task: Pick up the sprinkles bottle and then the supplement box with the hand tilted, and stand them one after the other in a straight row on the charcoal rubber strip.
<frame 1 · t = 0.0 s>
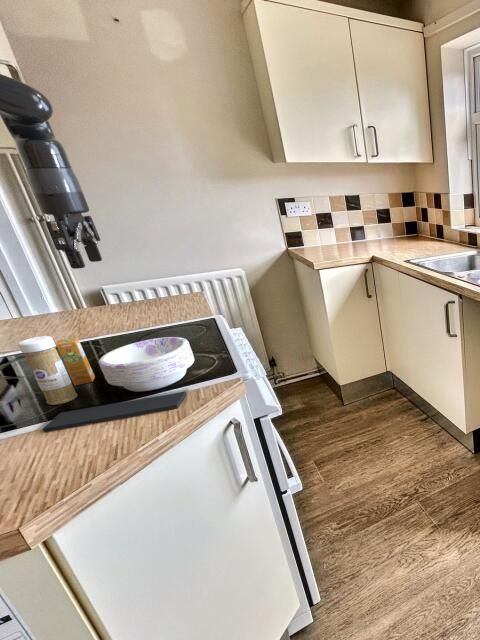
hand: (88, 264, 98), 24 cm above the worktop, tool pointing down, fingers open, 8 cm apart
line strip: (120, 412, 81), on the worktop
supplement box: (85, 382, 94), on the worktop
paper bowls: (158, 382, 93), on the worktop
sprinkles bottle: (64, 401, 86), on the worktop
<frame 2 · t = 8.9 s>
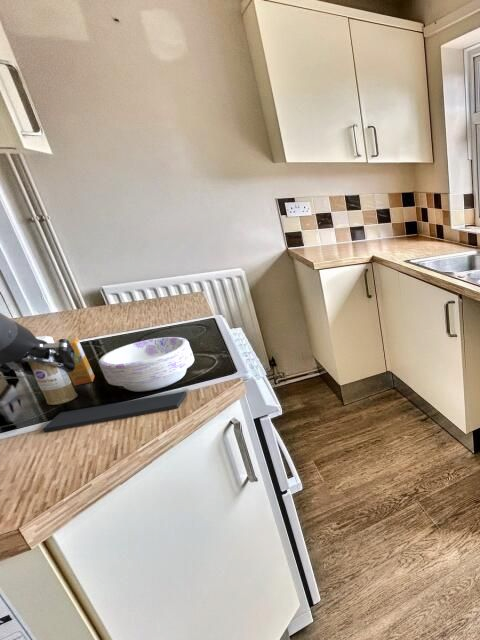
hand: (55, 369, 86), 6 cm above the worktop, tool tilted 45°, fingers closed on sprinkles bottle, 4 cm apart
sprinkles bottle: (63, 401, 86), on the worktop, touching gripper
everything else where it was.
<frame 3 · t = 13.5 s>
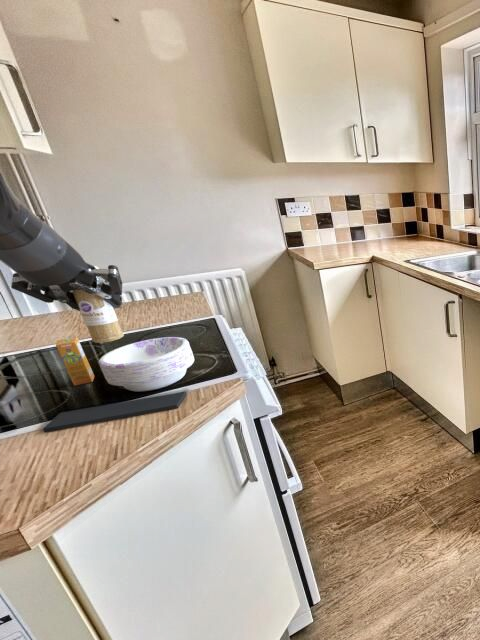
hand: (100, 305, 78), 20 cm above the worktop, tool tilted 45°, fingers closed on sprinkles bottle, 4 cm apart
sprinkles bottle: (109, 340, 79), point 14 cm above the worktop, touching gripper
everything else where it was.
when the fingers open (7 cm above the worktop, at t = 18.1 s): sprinkles bottle stays where it is, resting on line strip.
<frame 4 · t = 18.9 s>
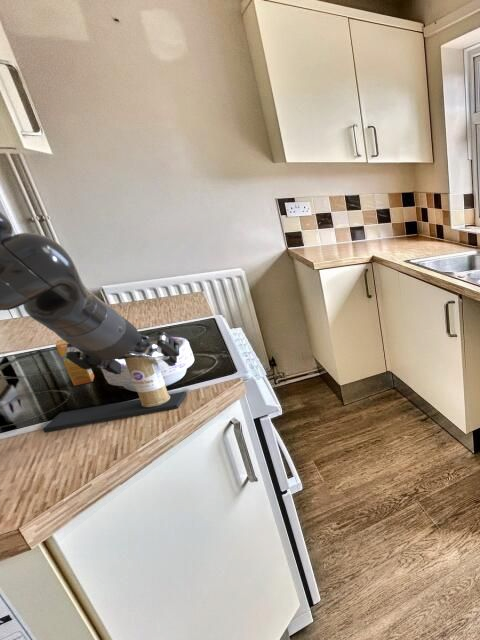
hand: (146, 365, 81), 8 cm above the worktop, tool tilted 45°, fingers open, 8 cm apart
sprinkles bottle: (157, 403, 83), point 1 cm above the worktop, touching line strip
everything else where it was.
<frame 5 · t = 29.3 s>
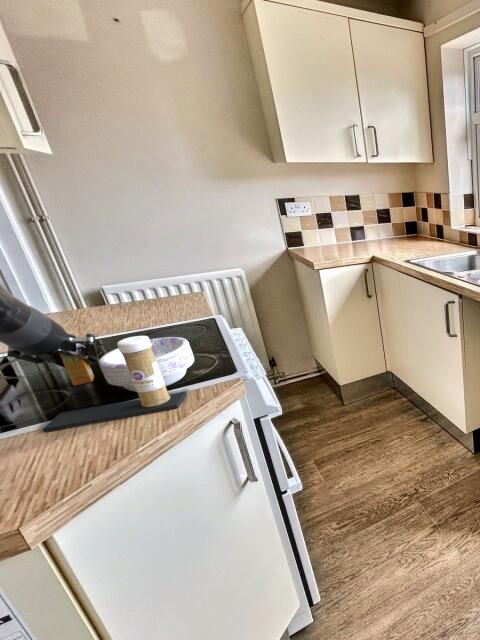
hand: (81, 362, 94), 4 cm above the worktop, tool tilted 45°, fingers closed on supplement box, 4 cm apart
supplement box: (84, 382, 94), on the worktop, touching gripper
everything else where it was.
when the fingers open (5 cm above the worktop, at t = 38.5 s): supplement box stays where it is, resting on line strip.
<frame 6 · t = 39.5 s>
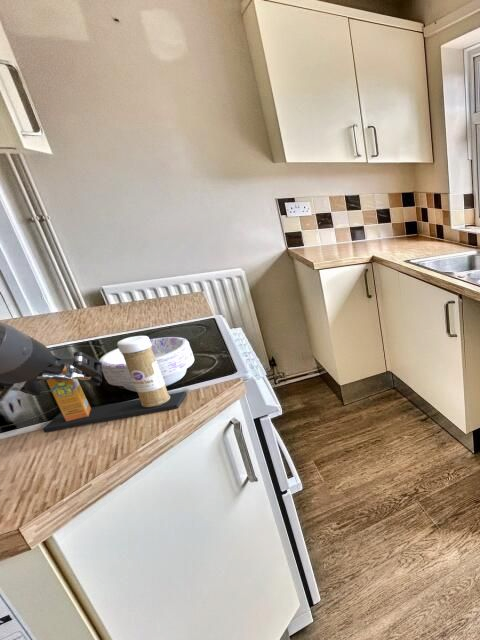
hand: (68, 385, 78), 7 cm above the worktop, tool tilted 45°, fingers open, 8 cm apart
supplement box: (79, 416, 79), point 1 cm above the worktop, touching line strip
everything else where it was.
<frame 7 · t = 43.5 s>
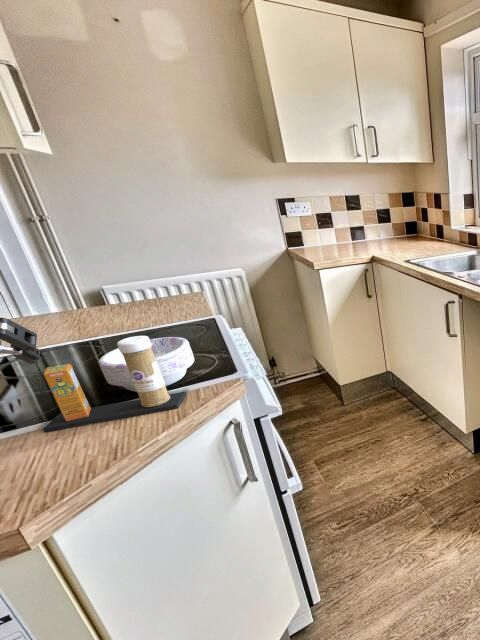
nothing on the worktop moved.
at the end: sprinkles bottle inside the target area on the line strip (0.6 cm from its centre), point 0.6 cm above the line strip's base; supplement box inside the target area on the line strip (0.4 cm from its centre), point 0.6 cm above the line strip's base; supplement box tilted 0° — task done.
